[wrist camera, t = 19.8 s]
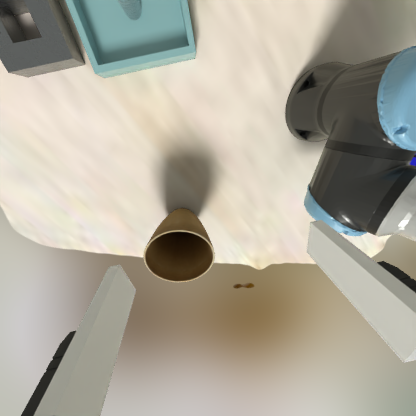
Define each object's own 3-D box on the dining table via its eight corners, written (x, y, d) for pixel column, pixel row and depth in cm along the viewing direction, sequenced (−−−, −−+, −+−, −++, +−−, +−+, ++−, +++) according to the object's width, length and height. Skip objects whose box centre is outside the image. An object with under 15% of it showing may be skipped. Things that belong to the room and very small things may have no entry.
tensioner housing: (48, -24, 27) (27, -44, 24) (85, 64, 32) (73, 58, 29) (-22, -9, 27) (-52, -28, 24) (27, 77, 32) (8, 72, 29)
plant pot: (172, 186, 46) (166, 217, 32) (216, 212, 51) (228, 249, 37) (146, 226, 50) (130, 268, 36) (189, 246, 56) (189, 290, 42)
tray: (171, -77, 26) (169, -107, 22) (195, 58, 34) (196, 52, 30) (53, -53, 26) (33, -79, 22) (104, 78, 34) (95, 73, 30)
